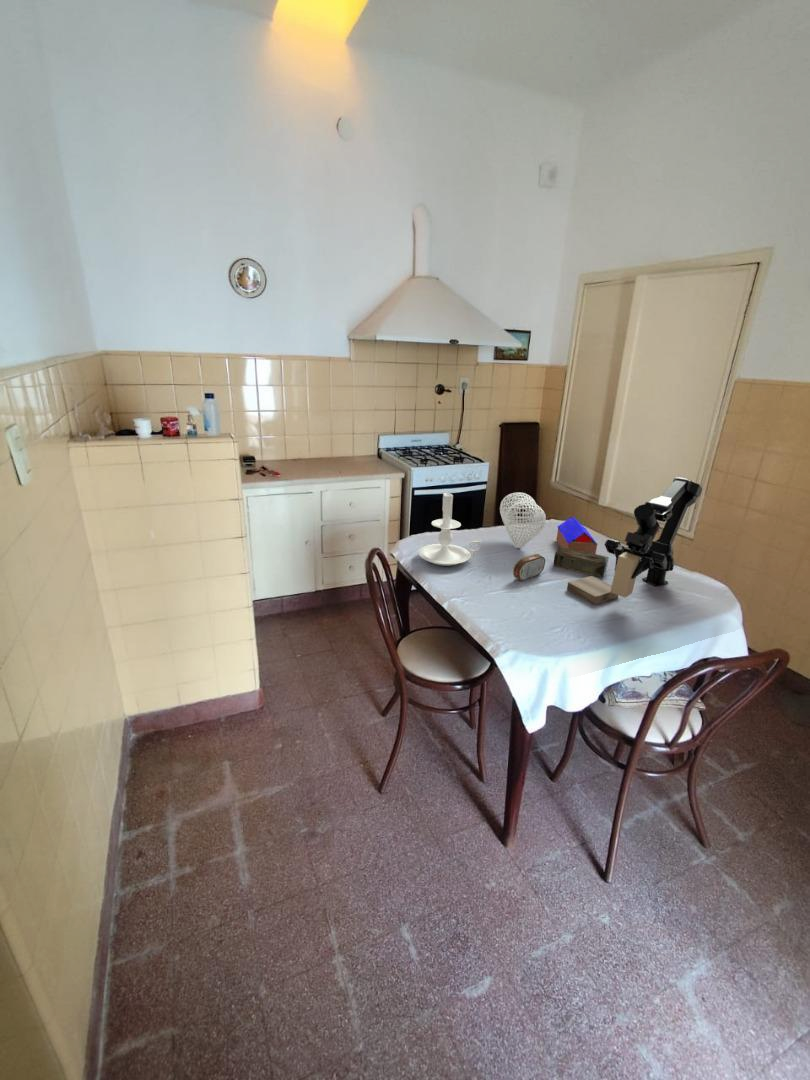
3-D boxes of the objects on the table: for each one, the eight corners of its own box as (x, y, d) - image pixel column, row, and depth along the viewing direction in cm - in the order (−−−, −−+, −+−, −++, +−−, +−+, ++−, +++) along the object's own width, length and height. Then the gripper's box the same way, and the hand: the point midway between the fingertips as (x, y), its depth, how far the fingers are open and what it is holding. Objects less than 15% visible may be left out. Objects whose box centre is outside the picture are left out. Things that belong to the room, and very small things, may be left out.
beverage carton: (603, 578, 184) (606, 562, 181) (551, 567, 192) (554, 551, 190) (606, 570, 190) (609, 555, 188) (556, 560, 199) (558, 545, 196)
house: (565, 558, 200) (569, 531, 196) (555, 540, 219) (558, 515, 215) (595, 560, 200) (600, 533, 196) (582, 541, 218) (586, 517, 214)
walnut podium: (590, 583, 179) (591, 575, 178) (618, 597, 169) (619, 589, 168) (566, 589, 173) (568, 582, 172) (594, 604, 164) (595, 596, 163)
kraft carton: (617, 587, 164) (625, 551, 159) (632, 593, 161) (641, 557, 156) (610, 591, 161) (618, 555, 156) (625, 597, 157) (634, 561, 152)
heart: (493, 535, 222) (498, 488, 214) (528, 536, 222) (533, 489, 214) (506, 560, 196) (512, 507, 188) (544, 561, 196) (552, 508, 188)
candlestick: (485, 571, 186) (492, 500, 176) (420, 571, 185) (423, 500, 174) (475, 550, 205) (480, 485, 195) (416, 550, 204) (418, 485, 193)
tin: (538, 571, 188) (541, 550, 185) (545, 574, 185) (548, 553, 182) (511, 580, 179) (513, 559, 176) (518, 584, 177) (520, 562, 174)
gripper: (612, 515, 161) (590, 554, 158) (672, 530, 148) (649, 573, 145) (618, 532, 169) (597, 570, 166) (675, 548, 156) (654, 589, 153)
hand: (623, 575), depth 157 cm, fingers closed on kraft carton, 5 cm apart
